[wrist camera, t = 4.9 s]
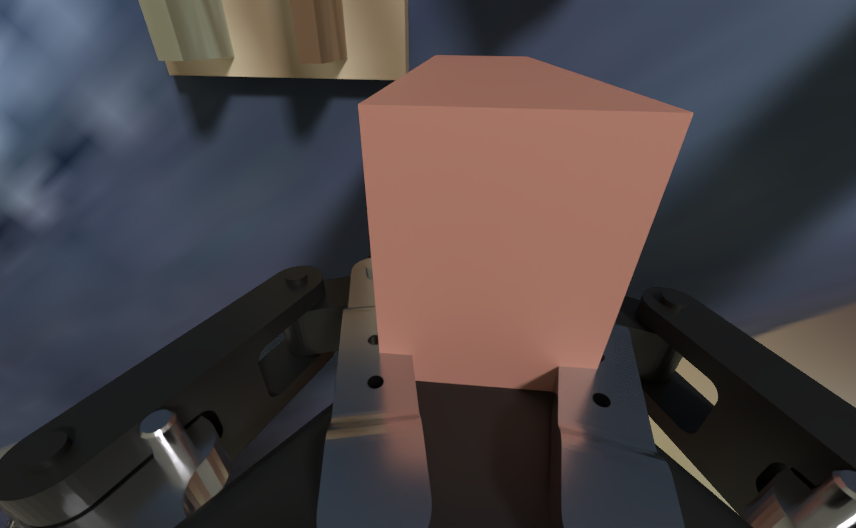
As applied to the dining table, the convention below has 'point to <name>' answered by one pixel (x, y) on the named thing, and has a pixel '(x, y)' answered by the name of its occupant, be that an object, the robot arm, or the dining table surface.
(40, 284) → the dining table surface
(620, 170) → the tall salmon pink block
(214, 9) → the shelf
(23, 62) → the dining table surface
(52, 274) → the dining table surface
